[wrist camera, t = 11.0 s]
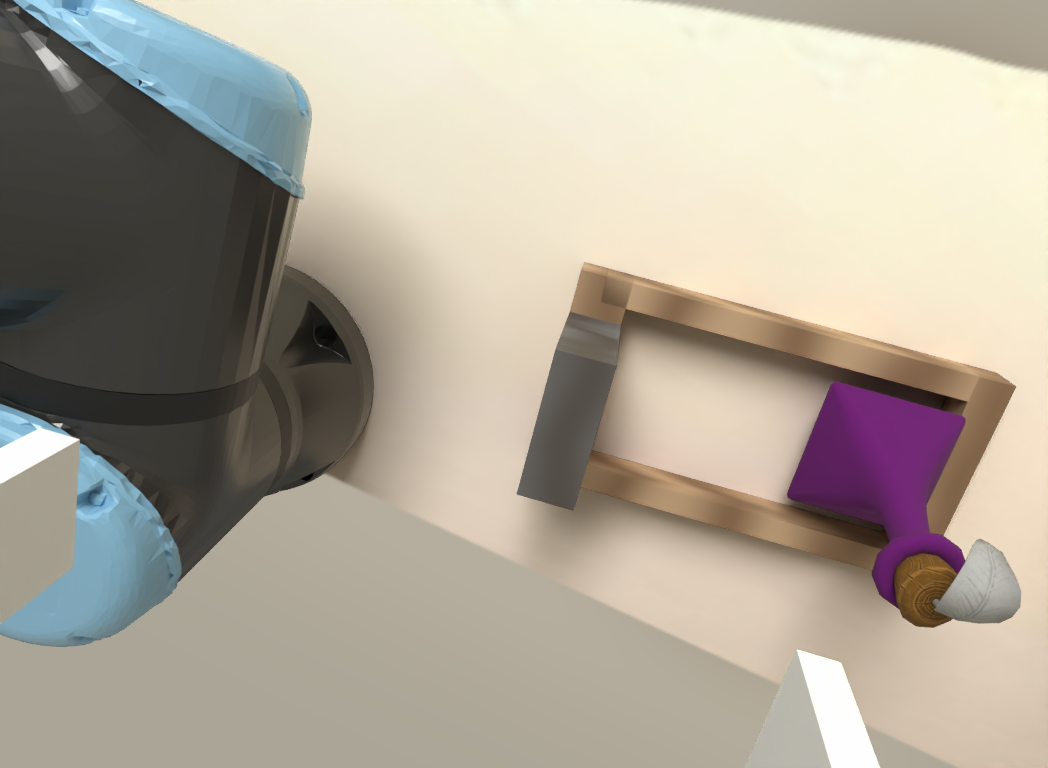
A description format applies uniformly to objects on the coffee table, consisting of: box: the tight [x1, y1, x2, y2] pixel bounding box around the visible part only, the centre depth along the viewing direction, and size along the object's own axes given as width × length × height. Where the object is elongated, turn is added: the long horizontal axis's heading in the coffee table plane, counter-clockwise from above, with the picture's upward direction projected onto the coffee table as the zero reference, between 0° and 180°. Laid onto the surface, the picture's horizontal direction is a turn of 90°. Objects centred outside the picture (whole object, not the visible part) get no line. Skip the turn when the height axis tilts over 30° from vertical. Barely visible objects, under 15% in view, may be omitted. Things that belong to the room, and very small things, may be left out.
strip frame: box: [517, 262, 1016, 570], centre depth 43 cm, size 24×13×10 cm, turn 76°
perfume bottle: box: [787, 382, 1021, 628], centre depth 39 cm, size 8×8×18 cm
